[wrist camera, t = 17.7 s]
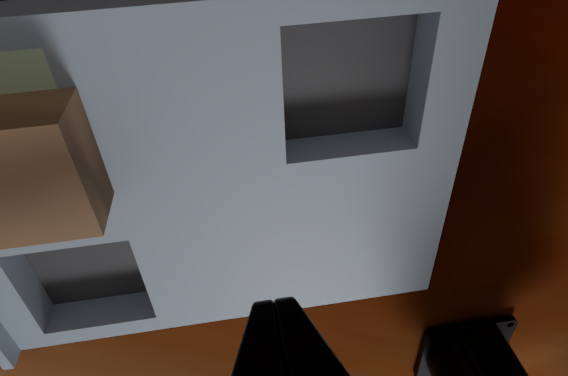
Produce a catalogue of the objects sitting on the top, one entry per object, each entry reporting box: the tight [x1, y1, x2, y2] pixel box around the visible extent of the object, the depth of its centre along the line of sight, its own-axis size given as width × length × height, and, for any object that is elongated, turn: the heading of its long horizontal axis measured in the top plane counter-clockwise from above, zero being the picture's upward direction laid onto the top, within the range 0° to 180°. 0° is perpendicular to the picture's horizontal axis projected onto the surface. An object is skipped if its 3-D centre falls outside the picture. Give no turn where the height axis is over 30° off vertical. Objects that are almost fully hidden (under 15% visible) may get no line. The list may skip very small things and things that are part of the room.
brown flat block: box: [0, 87, 114, 250], centre depth 15 cm, size 4×4×2 cm
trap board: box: [0, 0, 499, 370], centre depth 19 cm, size 16×22×3 cm
